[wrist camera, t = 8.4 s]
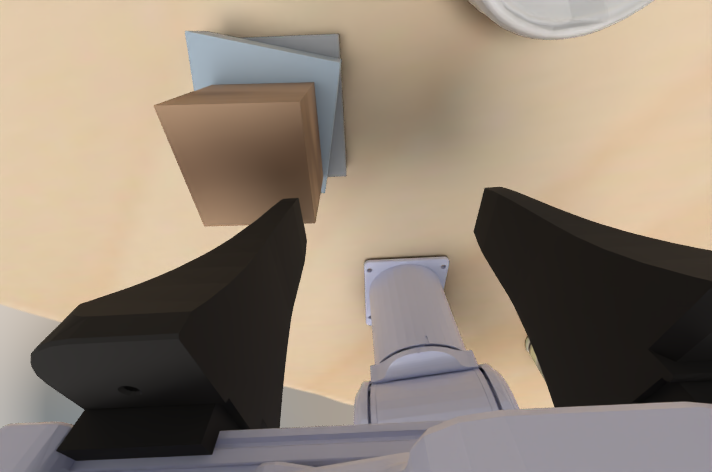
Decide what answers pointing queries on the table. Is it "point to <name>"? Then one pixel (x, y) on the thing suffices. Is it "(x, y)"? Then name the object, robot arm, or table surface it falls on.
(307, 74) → the tower top
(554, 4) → the ramekin
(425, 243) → the table surface
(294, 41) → the tower base
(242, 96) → the walnut cube
